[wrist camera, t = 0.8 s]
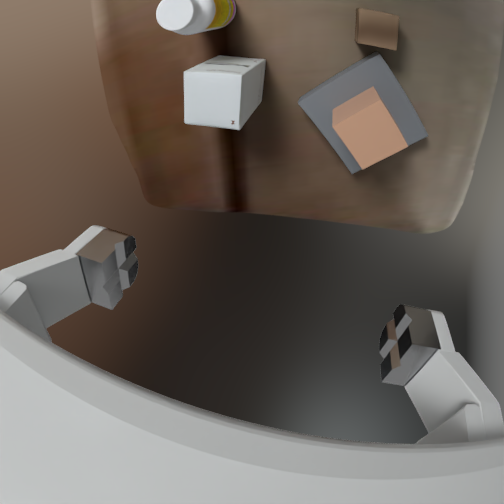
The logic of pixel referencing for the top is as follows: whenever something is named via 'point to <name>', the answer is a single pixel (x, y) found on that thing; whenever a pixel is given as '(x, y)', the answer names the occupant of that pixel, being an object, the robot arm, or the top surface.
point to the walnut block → (376, 28)
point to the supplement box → (223, 91)
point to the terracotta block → (368, 128)
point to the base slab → (349, 86)
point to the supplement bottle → (195, 15)
